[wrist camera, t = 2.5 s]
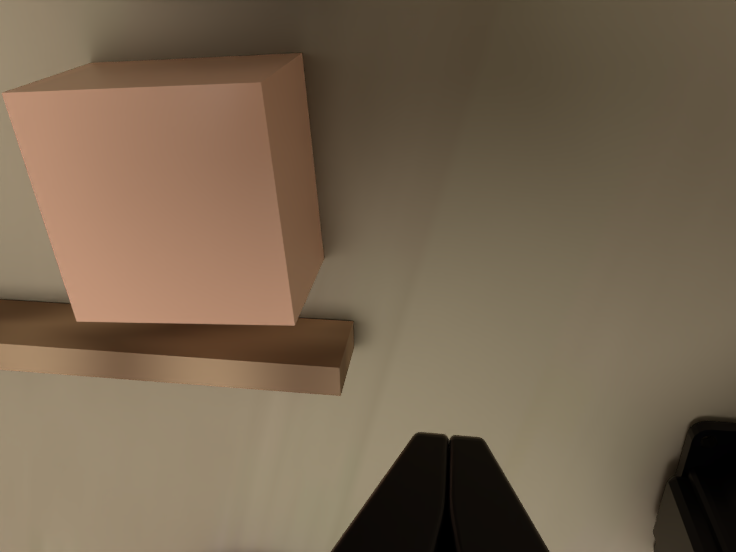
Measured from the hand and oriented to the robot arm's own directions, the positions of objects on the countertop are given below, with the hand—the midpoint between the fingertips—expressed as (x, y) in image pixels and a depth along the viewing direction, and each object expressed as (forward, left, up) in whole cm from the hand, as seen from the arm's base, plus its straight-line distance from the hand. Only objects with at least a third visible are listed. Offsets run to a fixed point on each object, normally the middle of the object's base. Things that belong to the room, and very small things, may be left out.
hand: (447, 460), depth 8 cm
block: (+7, 0, -11) cm, 13 cm away
